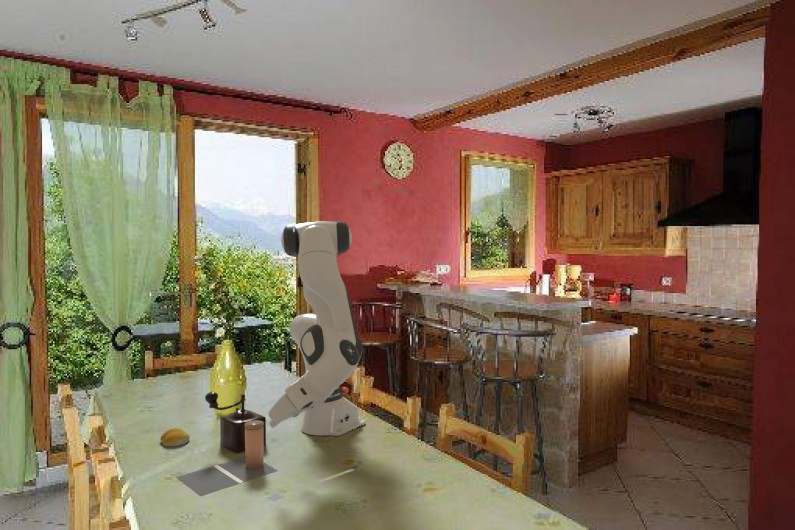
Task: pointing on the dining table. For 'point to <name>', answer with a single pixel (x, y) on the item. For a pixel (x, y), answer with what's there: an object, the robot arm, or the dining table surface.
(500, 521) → the dining table surface
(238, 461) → the throwing lane
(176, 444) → the bread roll
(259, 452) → the terracotta jar
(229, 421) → the manual coffee grinder
